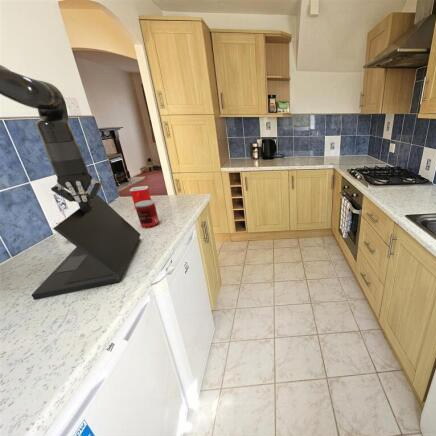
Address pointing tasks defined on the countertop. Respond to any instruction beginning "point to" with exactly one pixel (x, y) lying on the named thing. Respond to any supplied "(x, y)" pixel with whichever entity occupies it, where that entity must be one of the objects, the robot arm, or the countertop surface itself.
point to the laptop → (77, 275)
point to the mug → (140, 194)
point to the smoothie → (61, 219)
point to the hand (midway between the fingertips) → (88, 212)
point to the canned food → (147, 213)
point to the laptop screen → (101, 235)
